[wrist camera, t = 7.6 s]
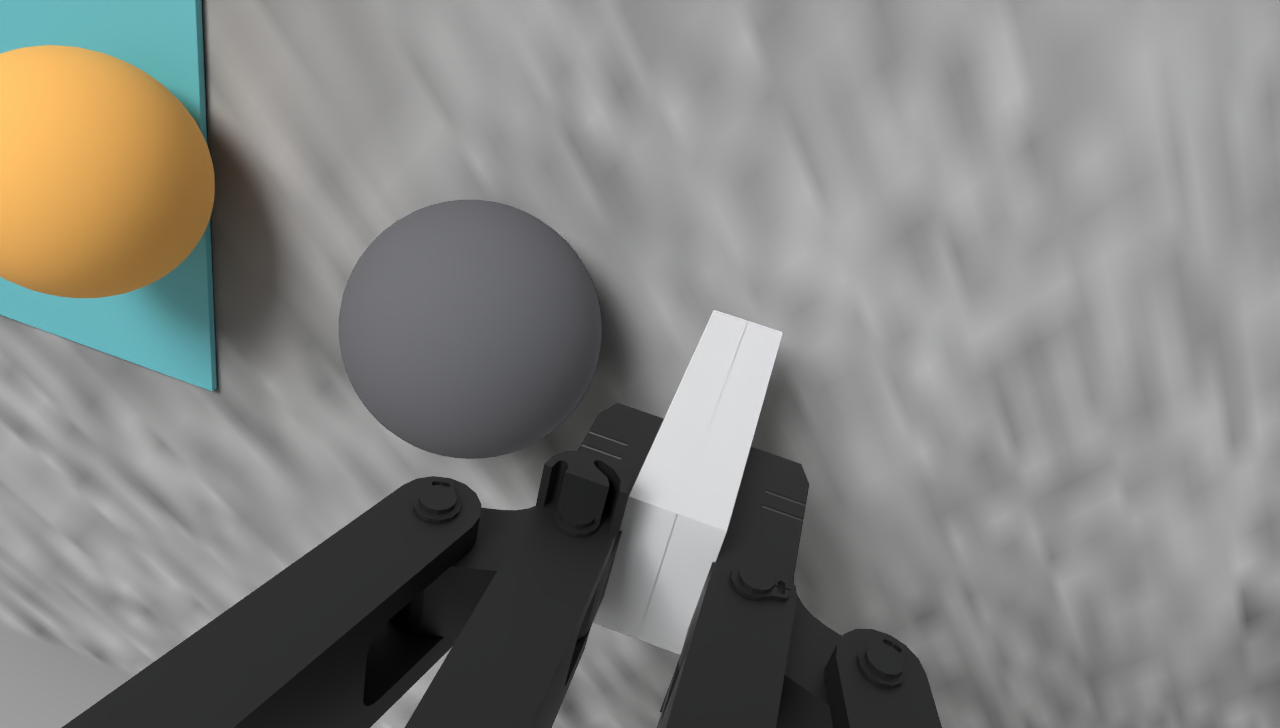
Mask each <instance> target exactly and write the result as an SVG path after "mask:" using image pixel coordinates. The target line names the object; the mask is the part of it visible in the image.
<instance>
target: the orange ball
mask: <svg viewBox="0 0 1280 728" xmlns="http://www.w3.org/2000/svg"><path fill="white" fill-rule="evenodd" d="M214 196H215V177H214V168H213V163H212V159H211V156H210V152H209V149H208V146H207V143H206V141H205V138H204V136H203V135H202V133H201V131H200V129H199V127H198V125H197V123H196V122H195V120H194V119H193V117H192V116H191V115H190V113H189V112H188V111H187V109H186V108H185V107H184V105H183V104H182V103H181V102H180V101H179V100H178V99H177V98H176V97H175V96H174V95H173V94H172V93H171V92H170V91H169V90H168V89H167V88H166V87H165V86H164V85H162V84H161V83H160V82H158V81H157V80H156V79H154V78H153V77H152V76H150V75H148V74H147V73H145V72H144V71H142V70H141V69H139V68H137V67H135V66H133V65H131V64H130V63H127V62H125V61H123V60H120V59H118V58H115V57H113V56H110V55H107V54H105V53H101V52H97V51H93V50H88V49H84V48H79V47H72V46H59V45H43V46H32V47H24V48H19V49H15V50H11V51H7V52H4V53H1V54H0V277H2V278H4V279H5V280H7V281H10V282H12V283H15V284H17V285H20V286H22V287H25V288H27V289H30V290H33V291H37V292H41V293H45V294H49V295H54V296H59V297H68V298H102V297H108V296H114V295H120V294H124V293H127V292H130V291H133V290H136V289H139V288H142V287H145V286H147V285H149V284H151V283H153V282H155V281H157V280H159V279H160V278H162V277H164V276H165V275H167V274H168V273H170V272H171V271H172V270H173V269H175V268H176V267H177V266H178V265H179V264H181V263H182V262H183V261H184V260H185V259H186V258H187V257H188V256H189V254H190V253H191V252H192V251H193V249H194V248H195V247H196V245H197V244H198V242H199V241H200V239H201V237H202V236H203V234H204V232H205V230H206V227H207V225H208V223H209V220H210V217H211V213H212V209H213V204H214Z"/></svg>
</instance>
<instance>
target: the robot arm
mask: <svg viewBox="0 0 1280 728" xmlns="http://www.w3.org/2000/svg"><path fill="white" fill-rule="evenodd" d="M782 333H783V332H780V331H777V330H774V329H771V328H768V327H765V326H762V325H759V324H756V323H753V322H750V321H747V320H744V319H741V318H737V317H734V316H731V315H728V314H725V313H722V312H719V311H716V310H713V313H712V315H711V317H710V319H709V321H708V324H707V326H706V328H705V330H704V332H703V335H702V337H701V339H700V341H699V343H698V346H697V348H696V350H695V352H694V354H693V357H692V359H691V361H690V363H689V365H688V368H687V370H686V372H685V374H684V376H683V379H682V381H681V383H680V385H679V387H678V390H677V392H676V394H675V396H674V398H673V401H672V403H671V405H670V407H669V409H668V412H667V414H666V416H665V418H664V419H662V418H660V417H657V416H654V415H651V414H648V413H645V412H642V411H639V410H636V409H633V408H630V407H628V406H625V405H622V404H619V403H617V404H616V405H614V406H612V407H610V408H609V409H607V410H605V411H603V412H602V413H600V414H599V415H598V417H597V418H596V420H595V422H594V424H593V425H592V427H591V429H590V431H589V433H588V434H587V436H586V437H585V439H584V441H583V442H582V445H581V446H580V448H579V449H578V451H567V452H564V453H561V454H558V455H555V456H553V457H552V458H551V459H550V460H549V461H548V462H547V463H546V464H545V465H544V469H543V474H542V479H541V484H540V489H539V493H538V498H537V503H536V506H534V507H532V508H529V509H523V510H496V509H487V508H481V503H480V501H479V499H478V496H477V494H476V493H475V492H474V491H473V490H471V489H470V488H469V487H468V486H467V485H465V484H463V483H461V482H458V481H456V480H453V479H451V478H443V477H434V476H432V477H426V478H419V479H415V480H413V481H411V482H409V483H407V484H405V485H403V486H401V487H400V488H398V489H397V490H396V491H394V492H393V493H391V494H390V495H389V496H387V497H386V498H384V499H383V500H382V501H380V502H379V503H377V504H376V505H375V506H373V507H372V508H370V509H369V510H367V511H366V512H365V513H363V514H362V515H360V516H359V517H358V518H356V519H355V520H353V521H352V522H351V523H349V524H348V525H346V526H345V527H344V528H342V529H341V530H339V531H338V532H336V533H335V534H334V535H332V536H331V537H329V538H328V539H327V540H325V541H324V542H322V543H321V544H320V545H318V546H317V547H315V548H314V549H313V550H311V551H310V552H308V553H307V554H306V555H304V556H303V557H301V558H300V559H298V560H297V561H296V562H294V563H293V564H291V565H290V566H289V567H287V568H286V569H284V570H283V571H282V572H280V573H279V574H277V575H276V576H275V577H273V578H272V579H270V580H269V581H267V582H266V583H265V584H263V585H262V586H260V587H259V588H258V589H256V590H255V591H253V592H252V593H251V594H249V595H248V596H246V597H245V598H244V599H242V600H241V601H239V602H238V603H237V604H235V605H234V606H232V607H231V608H229V609H228V610H227V611H225V612H224V613H222V614H221V615H220V616H218V617H217V618H215V619H214V620H213V621H211V622H210V623H208V624H207V625H206V626H204V627H203V628H201V629H200V630H199V631H197V632H196V633H194V634H193V635H191V636H190V637H189V638H187V639H186V640H184V641H183V642H182V643H180V644H179V645H177V646H176V647H175V648H173V649H172V650H170V651H169V652H168V653H166V654H165V655H163V656H162V657H160V658H159V659H158V660H156V661H155V662H153V663H152V664H151V665H149V666H148V667H146V668H145V669H144V670H142V671H141V672H139V673H138V674H137V675H135V676H134V677H132V678H131V679H130V680H128V681H127V682H125V683H124V684H122V685H121V686H120V687H118V688H117V689H116V690H114V691H113V692H111V693H110V694H108V695H107V696H106V697H104V698H103V699H101V700H100V701H99V702H97V703H96V704H94V705H93V706H91V707H90V708H89V709H87V710H86V711H84V712H83V713H82V714H80V715H79V716H77V717H76V718H75V719H73V720H72V721H70V722H69V723H68V724H66V725H65V726H63V727H62V728H370V727H371V726H372V725H373V724H374V723H375V722H376V721H377V720H378V719H379V718H380V717H381V716H382V715H383V714H384V713H385V712H386V711H387V710H388V709H389V708H390V707H391V706H392V705H393V704H394V703H395V702H396V701H397V700H399V699H400V698H401V697H402V696H403V695H404V694H405V693H406V692H407V691H408V690H409V689H410V688H411V687H412V686H413V685H414V684H415V683H416V682H417V681H418V680H419V679H420V678H421V677H422V676H423V675H424V674H425V673H426V672H427V671H428V670H429V669H430V668H431V667H432V666H433V665H434V664H435V663H436V662H437V661H438V660H439V659H440V658H441V657H442V656H443V655H444V654H445V653H446V652H447V651H448V650H449V649H450V648H451V647H452V646H453V647H452V649H451V650H450V652H449V654H448V655H447V657H446V659H445V660H444V662H443V664H442V665H441V667H440V669H439V671H438V672H437V674H436V676H435V677H434V679H433V681H432V682H431V684H430V686H429V687H428V689H427V691H426V693H425V694H424V696H423V698H422V699H421V701H420V703H419V704H418V706H417V708H416V709H415V711H414V713H413V715H412V716H411V718H410V720H409V721H408V723H407V725H406V726H405V728H552V725H553V723H554V721H555V718H556V716H557V713H558V711H559V709H560V706H561V704H562V702H563V699H564V697H565V694H566V692H567V690H568V687H569V685H570V682H571V680H572V678H573V675H574V673H575V670H576V668H577V666H578V663H579V661H580V659H581V656H582V654H583V651H584V649H585V646H586V642H587V638H588V635H589V631H590V628H591V625H592V623H593V620H594V623H596V624H599V625H601V626H604V627H607V628H609V629H612V630H615V631H617V632H620V633H623V634H625V635H628V636H631V637H633V638H636V639H639V640H641V641H644V642H647V643H649V644H652V645H655V646H657V647H660V648H663V649H665V650H668V651H671V652H673V653H676V654H679V655H680V658H679V661H678V664H677V667H676V669H675V672H674V675H673V678H672V680H671V683H670V686H669V688H668V691H667V694H666V697H665V699H664V702H663V705H662V708H661V710H660V712H662V713H661V717H660V720H659V723H658V727H657V728H942V726H941V723H940V720H939V716H938V713H937V709H936V706H935V703H934V699H933V696H932V693H931V689H930V686H929V682H928V679H927V676H926V673H925V671H924V669H923V667H922V665H921V663H920V661H919V659H918V658H917V657H916V656H915V655H914V654H913V653H912V652H911V650H910V649H909V648H908V647H907V646H906V645H904V644H903V643H901V642H900V641H898V640H897V639H895V638H893V637H892V636H890V635H888V634H885V633H882V632H879V631H876V630H873V629H855V630H853V631H850V632H848V633H846V634H844V635H843V636H840V635H839V634H837V633H836V632H834V631H833V630H831V629H830V628H828V627H827V626H825V625H824V624H822V623H821V622H820V621H819V620H817V619H816V618H815V617H813V616H812V615H811V614H810V612H809V611H808V610H807V609H806V608H805V607H804V606H803V604H802V603H801V601H800V599H799V598H798V596H797V593H796V587H795V585H794V572H795V566H796V560H797V554H798V548H799V542H800V536H801V530H802V524H803V522H802V521H803V518H804V512H805V505H806V500H807V494H808V488H809V483H808V480H807V478H806V475H805V473H804V470H803V468H802V466H801V464H799V463H796V462H793V461H791V460H788V459H785V458H782V457H779V456H776V455H773V454H770V453H767V452H764V451H761V450H758V449H756V448H753V447H751V444H752V440H753V436H754V433H755V429H756V426H757V422H758V419H759V415H760V412H761V408H762V404H763V401H764V397H765V394H766V390H767V387H768V383H769V380H770V376H771V372H772V369H773V365H774V362H775V358H776V355H777V351H778V347H779V344H780V340H781V337H782ZM594 618H595V619H594Z"/></svg>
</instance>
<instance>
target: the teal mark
mask: <svg viewBox="0 0 1280 728" xmlns="http://www.w3.org/2000/svg"><path fill="white" fill-rule="evenodd" d="M43 45H59V46H72V47H79V48H84V49H88V50H93V51H97V52H101V53H105V54H107V55H110V56H113V57H115V58H118V59H120V60H123V61H125V62H127V63H130V64H131V65H133V66H135V67H137V68H139V69H141V70H142V71H144V72H145V73H147V74H148V75H150V76H152V77H153V78H154V79H156V80H157V81H158V82H160V83H161V84H162V85H164V86H165V87H166V88H167V89H168V90H169V91H170V92H171V93H172V94H173V95H174V96H175V97H176V98H177V99H178V100H179V101H180V102H181V103H182V104H183V105H184V107H185V108H186V109H187V111H188V112H189V113H190V115H191V116H192V117H193V119H194V120H195V122H196V123H197V125H198V127H199V129H200V131H201V133H202V135H203V136H204V138H205V141H206V143H207V128H206V103H205V78H204V53H203V28H202V3H201V0H0V54H1V53H4V52H7V51H11V50H15V49H19V48H24V47H32V46H43ZM0 315H3V316H5V317H8V318H11V319H14V320H17V321H19V322H22V323H25V324H28V325H30V326H33V327H36V328H39V329H41V330H44V331H47V332H50V333H52V334H55V335H58V336H61V337H64V338H66V339H69V340H72V341H75V342H77V343H80V344H83V345H86V346H88V347H91V348H94V349H97V350H99V351H102V352H105V353H108V354H111V355H113V356H116V357H119V358H122V359H124V360H127V361H130V362H133V363H135V364H138V365H141V366H144V367H146V368H149V369H152V370H155V371H157V372H160V373H163V374H166V375H169V376H171V377H174V378H177V379H180V380H182V381H185V382H188V383H191V384H193V385H196V386H199V387H202V388H204V389H207V390H210V391H213V390H215V389H216V388H217V379H216V354H215V329H214V304H213V279H212V253H211V228H210V220H209V223H208V225H207V227H206V230H205V232H204V234H203V236H202V237H201V239H200V241H199V242H198V244H197V245H196V247H195V248H194V249H193V251H192V252H191V253H190V254H189V256H188V257H187V258H186V259H185V260H184V261H183V262H182V263H181V264H179V265H178V266H177V267H176V268H175V269H173V270H172V271H171V272H170V273H168V274H167V275H165V276H164V277H162V278H160V279H159V280H157V281H155V282H153V283H151V284H149V285H147V286H145V287H142V288H139V289H136V290H133V291H130V292H127V293H124V294H120V295H114V296H108V297H102V298H68V297H59V296H54V295H49V294H45V293H41V292H37V291H33V290H30V289H27V288H25V287H22V286H20V285H17V284H15V283H12V282H10V281H7V280H5V279H4V278H2V277H0Z"/></svg>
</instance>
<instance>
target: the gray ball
mask: <svg viewBox="0 0 1280 728" xmlns="http://www.w3.org/2000/svg"><path fill="white" fill-rule="evenodd" d="M601 339H602V322H601V312H600V305H599V302H598V298H597V294H596V291H595V288H594V285H593V282H592V280H591V278H590V275H589V273H588V271H587V269H586V268H585V266H584V265H583V263H582V261H581V260H580V258H579V257H578V255H577V254H576V252H575V251H574V250H573V249H572V247H571V246H570V245H569V244H568V243H567V241H565V240H564V239H563V238H562V237H561V236H560V235H559V234H558V233H557V232H556V231H555V230H553V229H552V228H550V227H549V226H548V225H546V224H545V223H543V222H542V221H541V220H539V219H538V218H536V217H534V216H532V215H530V214H528V213H526V212H524V211H522V210H519V209H516V208H514V207H511V206H508V205H504V204H500V203H496V202H490V201H482V200H457V201H448V202H443V203H439V204H435V205H431V206H428V207H425V208H423V209H420V210H417V211H415V212H413V213H411V214H409V215H408V216H406V217H404V218H402V219H400V220H398V221H397V222H395V223H394V224H393V225H391V226H390V227H388V228H387V229H386V230H384V231H383V232H382V233H381V234H380V235H379V236H378V237H377V238H376V239H375V240H374V241H373V242H372V243H371V244H370V246H369V247H368V248H367V249H366V251H365V252H364V253H363V255H362V256H361V257H360V258H359V260H358V262H357V264H356V266H355V267H354V269H353V271H352V273H351V275H350V277H349V280H348V282H347V285H346V288H345V291H344V294H343V298H342V303H341V309H340V315H339V340H340V348H341V355H342V359H343V362H344V366H345V369H346V372H347V374H348V377H349V380H350V382H351V384H352V386H353V388H354V390H355V392H356V393H357V395H358V396H359V398H360V399H361V401H362V402H363V404H364V405H365V407H366V408H367V409H368V410H369V412H370V413H371V414H372V415H373V416H374V417H375V418H376V419H377V421H379V422H380V423H381V424H382V425H383V426H384V427H386V428H387V429H388V430H389V431H391V432H392V433H394V434H395V435H397V436H398V437H399V438H401V439H402V440H404V441H406V442H408V443H410V444H411V445H413V446H415V447H418V448H420V449H423V450H425V451H428V452H431V453H435V454H438V455H442V456H448V457H454V458H467V459H474V458H488V457H495V456H500V455H504V454H508V453H511V452H514V451H517V450H520V449H522V448H525V447H527V446H529V445H531V444H533V443H535V442H536V441H538V440H539V439H541V438H543V437H544V436H546V435H547V434H549V433H550V432H552V431H553V430H554V429H555V428H557V427H558V426H559V425H560V424H561V423H562V422H563V421H564V420H565V419H566V418H567V417H568V416H569V415H570V414H571V412H572V411H573V410H574V409H575V408H576V406H577V405H578V403H579V402H580V401H581V399H582V398H583V396H584V394H585V392H586V390H587V389H588V387H589V385H590V383H591V380H592V378H593V375H594V373H595V370H596V367H597V363H598V358H599V353H600V348H601Z"/></svg>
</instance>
